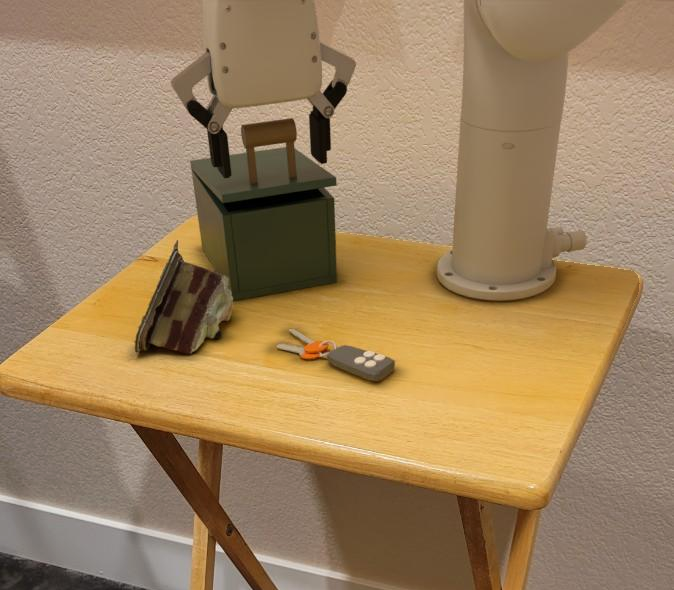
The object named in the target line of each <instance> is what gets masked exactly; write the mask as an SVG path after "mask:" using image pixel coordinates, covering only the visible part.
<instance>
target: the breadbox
mask: <svg viewBox="0 0 674 590" xmlns="http://www.w3.org/2000/svg"><path fill="white" fill-rule="evenodd" d="M191 178H192V185H193V191H194V198H195V199H194V200H195V206H196V207H195V208H196V213H197V214H196V215H197V221H198V227H199V236H200V242H201V248H202V251H203V253H204V254H205V256H206V258H207V259H208V261H209V263H210V265H211V266H212V268H213V270H214V272H216V273H219V274H222V275H225V276H226V277H228V279H229V281H228V289H229V290H230V291H231V293H232V295H231V296H232V297H233V302H236V301H241V300H246V299H251V298H257V297H262V296H263V297H264V296H268V295H275V294H280V293H286V292H292V291H297V290H302V289H307V288H313V287H318V286H320V287H321V286H325V285H329V284H335V283H336V284H337V283H338V276H337V275H338V267H337V239H336V238H337V237H336V236H337V235H336V210H335V209H336V208H335V207H336V206H335V204H336V203H335V197H334V196H333V195H332V194H331V193H330V192H329V191H328V190H327V189H326V187H324V188H318V189H312V190H305V191H299V192H292V193H286V194H279V195H273V196H266V197H260V198H253V199H247V200H240V201H234V202H227V203H222V202H221V200H220V199H219V198H218V197H217V196H216V195H215V194H214V193H213V192H212V191H211V189H210V188H209V187H208V186H207V185H206V184H205V183H204V182H203V181H202V180H201V178H200V177H199V176H198V175H197V174H196V173H195V172H194V171H193V170H192V169H191ZM250 206H260V207H257V208H250V209H246V208H248V207H250Z"/></svg>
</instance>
